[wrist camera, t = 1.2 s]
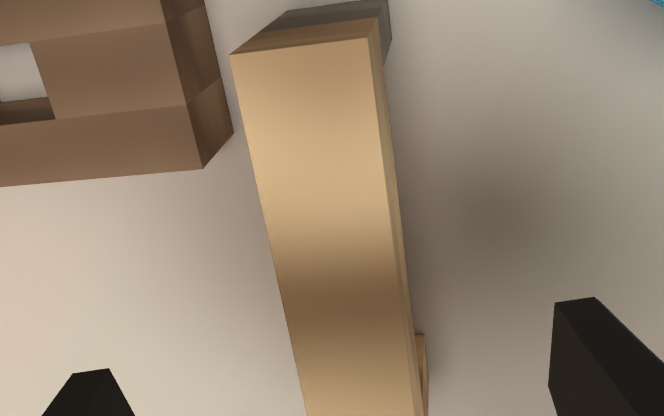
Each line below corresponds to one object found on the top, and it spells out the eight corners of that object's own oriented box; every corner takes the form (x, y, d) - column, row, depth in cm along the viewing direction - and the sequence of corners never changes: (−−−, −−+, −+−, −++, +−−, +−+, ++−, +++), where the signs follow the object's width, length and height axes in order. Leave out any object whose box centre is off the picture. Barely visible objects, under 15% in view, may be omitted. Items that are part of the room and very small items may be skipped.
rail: (428, 377, 24) (426, 513, 19) (351, 378, 25) (328, 511, 19) (387, -4, 18) (367, 37, 13) (287, 10, 19) (228, 54, 13)
